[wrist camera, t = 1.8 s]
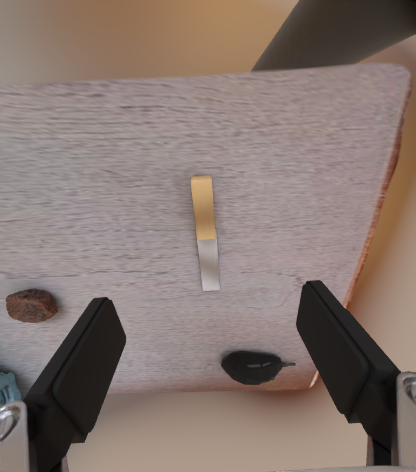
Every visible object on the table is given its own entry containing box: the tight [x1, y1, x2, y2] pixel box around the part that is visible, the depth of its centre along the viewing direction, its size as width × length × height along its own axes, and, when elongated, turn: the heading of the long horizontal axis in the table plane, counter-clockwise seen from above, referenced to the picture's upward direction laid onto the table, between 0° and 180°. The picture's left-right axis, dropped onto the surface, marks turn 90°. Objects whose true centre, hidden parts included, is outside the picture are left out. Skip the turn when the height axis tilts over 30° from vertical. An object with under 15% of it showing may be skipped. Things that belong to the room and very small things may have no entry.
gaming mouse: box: [221, 351, 296, 385], centre depth 37 cm, size 6×15×4 cm, turn 83°
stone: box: [6, 289, 58, 323], centre depth 29 cm, size 7×7×3 cm
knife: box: [191, 175, 220, 291], centre depth 25 cm, size 17×3×3 cm, turn 4°
